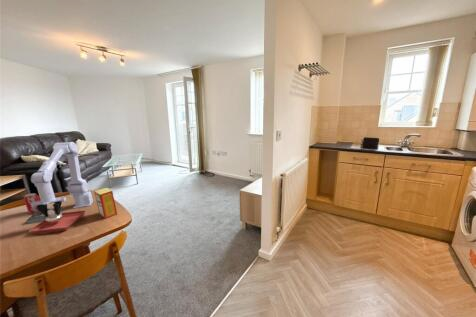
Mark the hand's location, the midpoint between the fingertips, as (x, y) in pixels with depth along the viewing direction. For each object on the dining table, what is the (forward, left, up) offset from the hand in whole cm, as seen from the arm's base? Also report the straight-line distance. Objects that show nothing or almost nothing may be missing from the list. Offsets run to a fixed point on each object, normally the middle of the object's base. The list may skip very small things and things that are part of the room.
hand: (53, 215), depth 110 cm
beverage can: (+20, -25, -6) cm, 33 cm away
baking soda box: (-26, 0, -6) cm, 27 cm away
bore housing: (+10, -14, -6) cm, 18 cm away
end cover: (0, 0, -3) cm, 3 cm away
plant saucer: (-3, +1, -6) cm, 7 cm away
